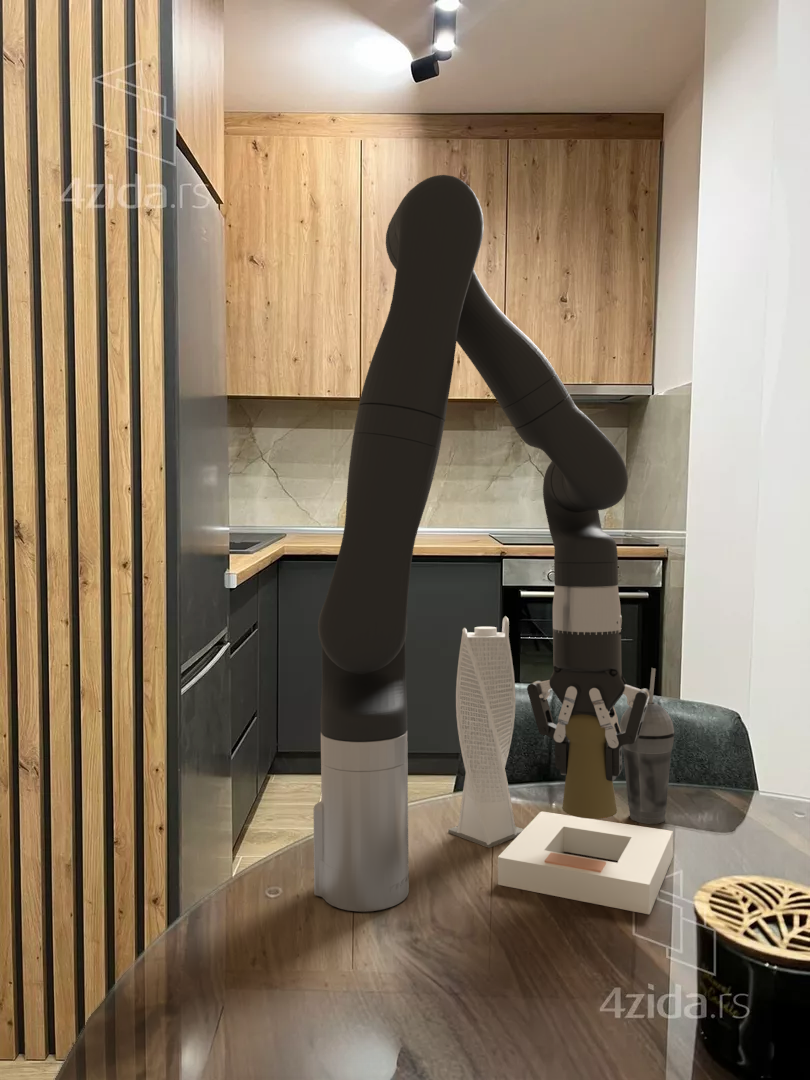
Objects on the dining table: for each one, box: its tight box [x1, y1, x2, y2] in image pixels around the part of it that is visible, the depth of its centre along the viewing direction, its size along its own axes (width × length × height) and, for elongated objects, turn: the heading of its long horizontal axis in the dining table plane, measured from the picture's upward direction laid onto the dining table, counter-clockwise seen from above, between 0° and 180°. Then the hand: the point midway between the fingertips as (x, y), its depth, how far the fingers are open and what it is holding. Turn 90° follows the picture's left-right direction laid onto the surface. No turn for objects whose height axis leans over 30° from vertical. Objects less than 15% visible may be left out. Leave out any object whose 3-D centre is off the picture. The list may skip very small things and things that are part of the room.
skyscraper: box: [448, 615, 525, 849], centre depth 101 cm, size 8×8×28 cm
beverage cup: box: [619, 667, 676, 825], centre depth 107 cm, size 7×7×20 cm
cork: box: [561, 714, 618, 820], centre depth 90 cm, size 6×6×11 cm
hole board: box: [497, 811, 674, 916], centre depth 90 cm, size 16×16×3 cm
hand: (588, 775), depth 90 cm, fingers closed on cork, 4 cm apart
